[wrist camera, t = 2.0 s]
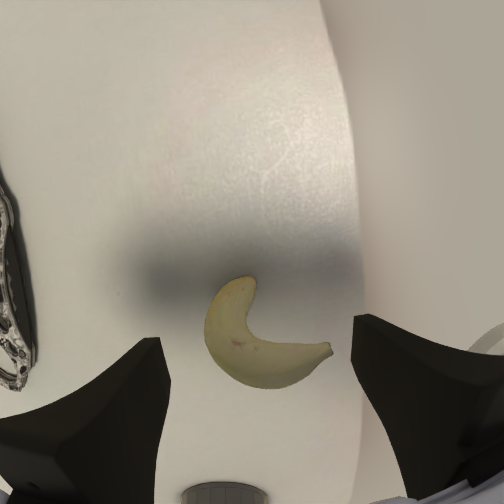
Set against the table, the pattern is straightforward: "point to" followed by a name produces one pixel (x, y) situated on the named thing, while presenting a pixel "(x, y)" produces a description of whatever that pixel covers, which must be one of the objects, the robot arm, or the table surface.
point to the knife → (13, 304)
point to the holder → (224, 494)
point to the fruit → (254, 343)
